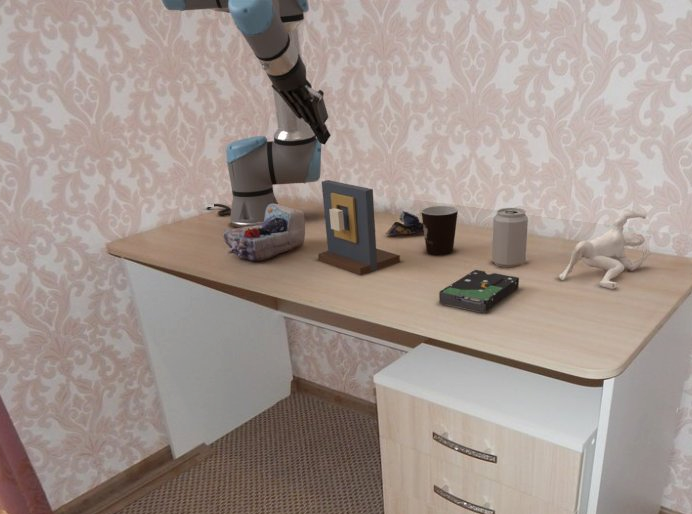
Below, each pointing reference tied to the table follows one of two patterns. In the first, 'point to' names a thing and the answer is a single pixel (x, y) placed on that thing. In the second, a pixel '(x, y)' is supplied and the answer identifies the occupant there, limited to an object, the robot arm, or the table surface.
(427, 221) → the coffee mug
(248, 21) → the robot arm
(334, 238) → the switch wall
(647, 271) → the table surface
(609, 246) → the person figurine
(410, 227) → the snack package
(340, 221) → the switch paddle
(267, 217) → the cell model
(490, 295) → the disk drive
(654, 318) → the table surface
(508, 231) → the can
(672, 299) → the table surface
